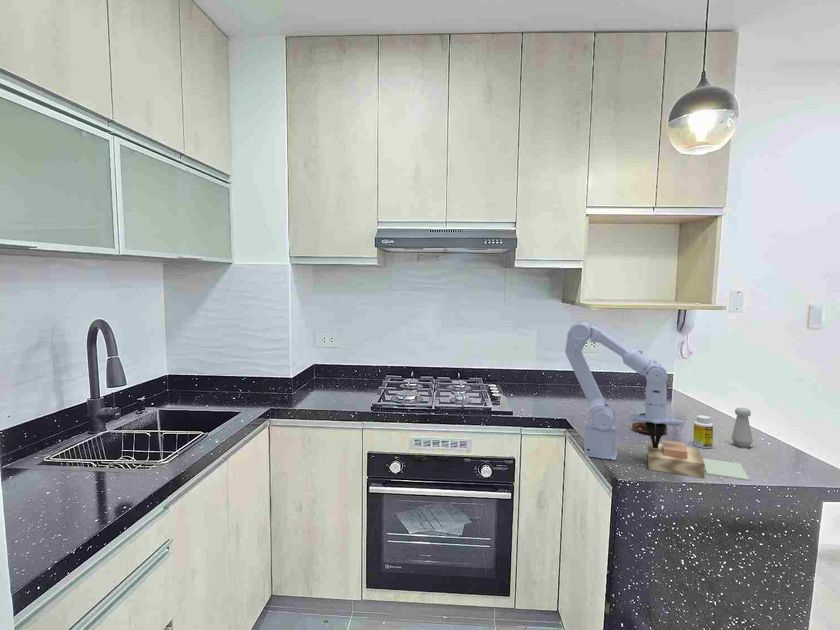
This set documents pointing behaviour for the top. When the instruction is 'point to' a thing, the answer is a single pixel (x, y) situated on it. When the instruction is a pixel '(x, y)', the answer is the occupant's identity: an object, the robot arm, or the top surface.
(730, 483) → the top surface
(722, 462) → the sage mat
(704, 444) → the supplement bottle
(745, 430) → the salt shaker
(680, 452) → the terracotta tile
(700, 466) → the oak board
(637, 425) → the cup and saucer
